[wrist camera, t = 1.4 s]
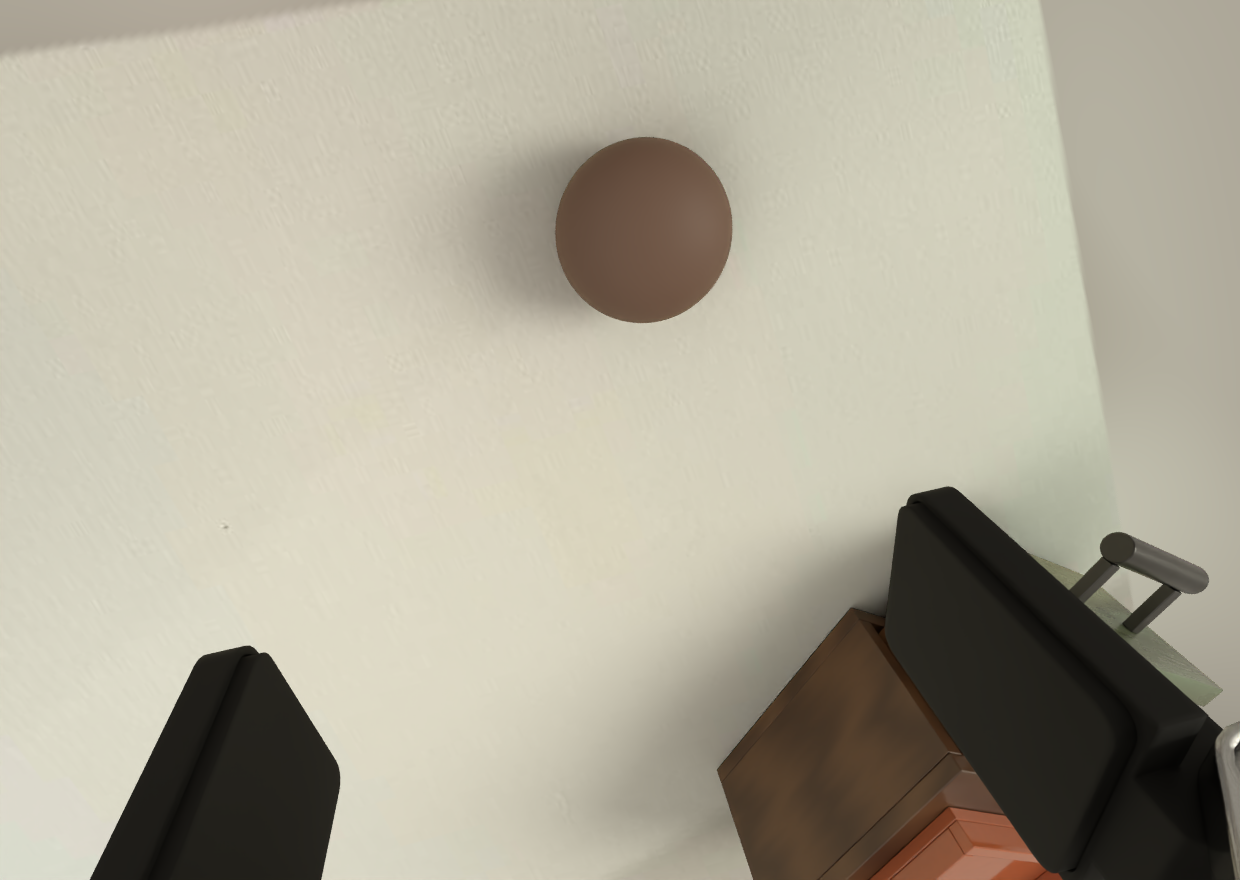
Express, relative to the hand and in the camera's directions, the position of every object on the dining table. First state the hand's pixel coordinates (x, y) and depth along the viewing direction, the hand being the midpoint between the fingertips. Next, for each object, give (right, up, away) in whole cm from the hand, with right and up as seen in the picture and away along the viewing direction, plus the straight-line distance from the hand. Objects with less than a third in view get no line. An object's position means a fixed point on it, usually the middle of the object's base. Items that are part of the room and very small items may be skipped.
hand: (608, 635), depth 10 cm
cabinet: (+15, -14, +31) cm, 38 cm away
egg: (+1, +11, +14) cm, 18 cm away
